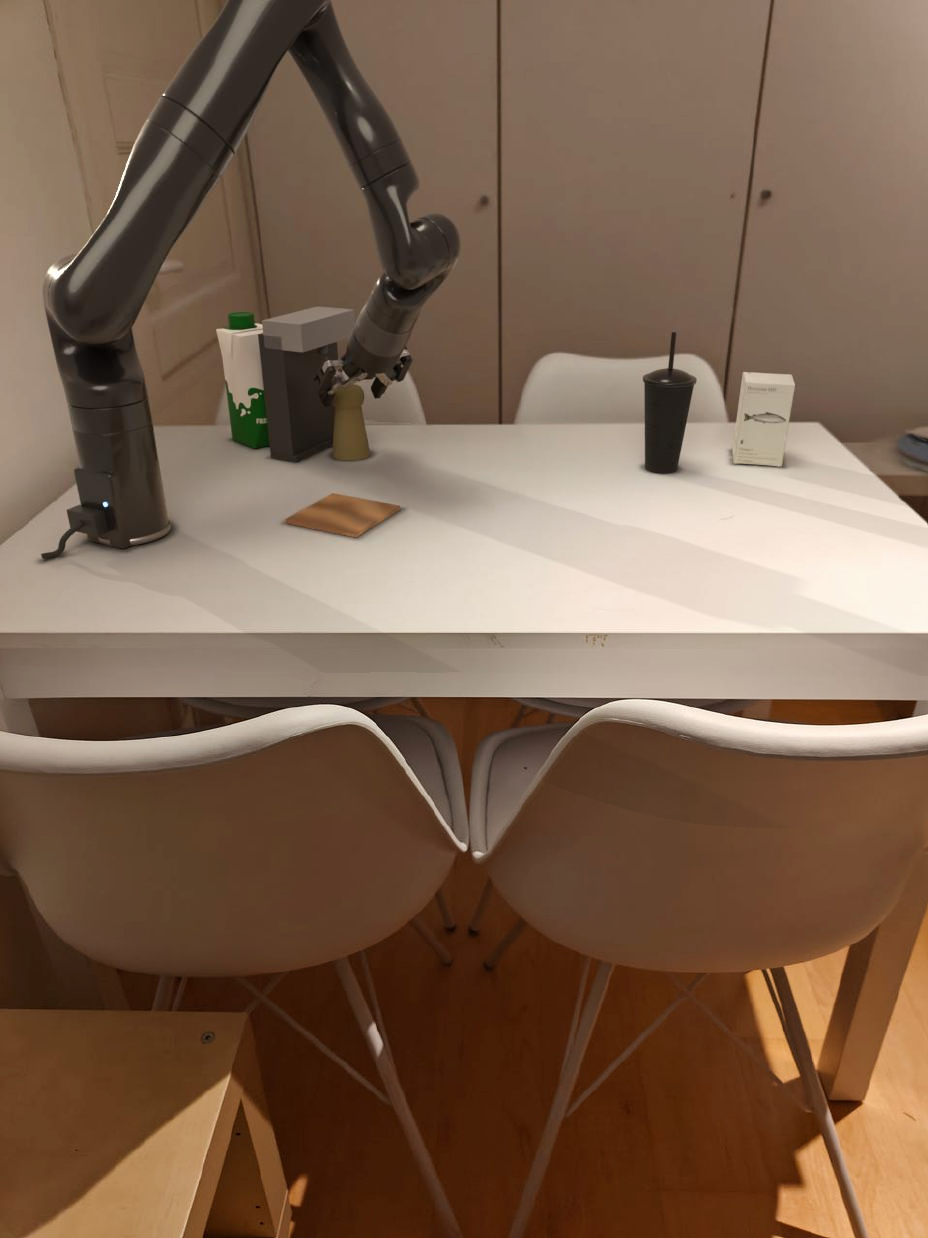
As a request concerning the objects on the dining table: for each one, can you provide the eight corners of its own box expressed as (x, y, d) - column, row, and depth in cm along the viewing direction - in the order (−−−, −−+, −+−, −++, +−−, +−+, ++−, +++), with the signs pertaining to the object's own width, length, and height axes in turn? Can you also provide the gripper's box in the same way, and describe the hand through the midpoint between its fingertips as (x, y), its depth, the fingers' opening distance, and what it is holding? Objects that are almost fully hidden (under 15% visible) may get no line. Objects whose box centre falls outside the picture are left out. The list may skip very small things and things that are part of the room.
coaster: (356, 537, 117) (355, 533, 117) (285, 523, 121) (285, 519, 121) (400, 509, 126) (400, 505, 125) (333, 497, 130) (332, 493, 130)
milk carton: (269, 429, 160) (257, 308, 151) (298, 440, 154) (287, 315, 145) (224, 439, 155) (208, 315, 146) (252, 451, 149) (237, 322, 140)
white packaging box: (732, 464, 142) (743, 381, 136) (731, 450, 148) (742, 370, 142) (782, 467, 140) (796, 384, 134) (780, 453, 147) (792, 372, 141)
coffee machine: (312, 464, 143) (300, 324, 133) (270, 457, 146) (256, 319, 136) (361, 440, 154) (354, 309, 144) (322, 434, 157) (311, 305, 147)
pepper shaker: (363, 461, 144) (359, 390, 139) (326, 459, 145) (321, 389, 140) (374, 449, 149) (371, 381, 144) (339, 447, 150) (334, 379, 145)
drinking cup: (628, 471, 139) (639, 334, 130) (644, 457, 145) (656, 325, 136) (678, 479, 136) (693, 339, 126) (692, 464, 142) (707, 330, 132)
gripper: (415, 305, 133) (381, 370, 147) (324, 315, 126) (298, 383, 140) (435, 349, 131) (399, 411, 145) (344, 361, 125) (316, 425, 138)
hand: (349, 397), depth 143 cm, fingers open, 8 cm apart
